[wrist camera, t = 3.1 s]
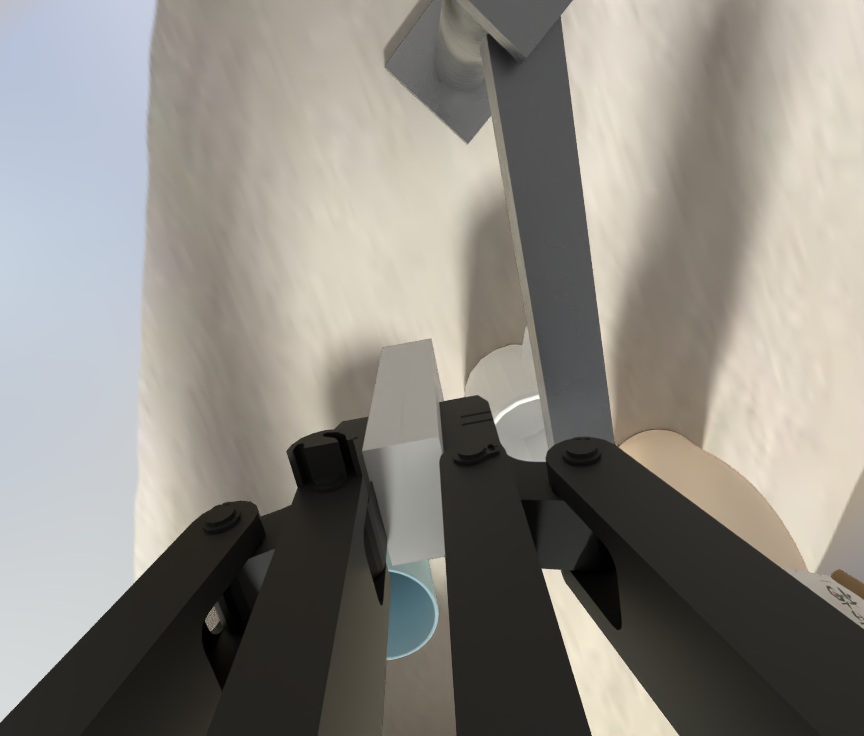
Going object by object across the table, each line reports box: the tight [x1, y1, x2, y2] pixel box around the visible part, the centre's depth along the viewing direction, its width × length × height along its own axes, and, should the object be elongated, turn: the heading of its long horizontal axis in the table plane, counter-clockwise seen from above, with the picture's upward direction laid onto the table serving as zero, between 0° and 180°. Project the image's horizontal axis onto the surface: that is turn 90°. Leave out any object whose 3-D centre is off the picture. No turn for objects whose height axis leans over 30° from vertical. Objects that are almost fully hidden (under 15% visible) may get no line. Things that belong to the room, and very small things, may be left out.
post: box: [384, 0, 572, 144], centre depth 26 cm, size 7×7×22 cm
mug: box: [465, 326, 548, 462], centre depth 38 cm, size 8×12×10 cm
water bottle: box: [619, 430, 864, 629], centre depth 33 cm, size 10×9×28 cm
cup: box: [386, 548, 439, 660], centre depth 42 cm, size 8×8×10 cm
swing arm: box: [480, 17, 615, 450], centre depth 22 cm, size 19×3×2 cm, turn 12°
